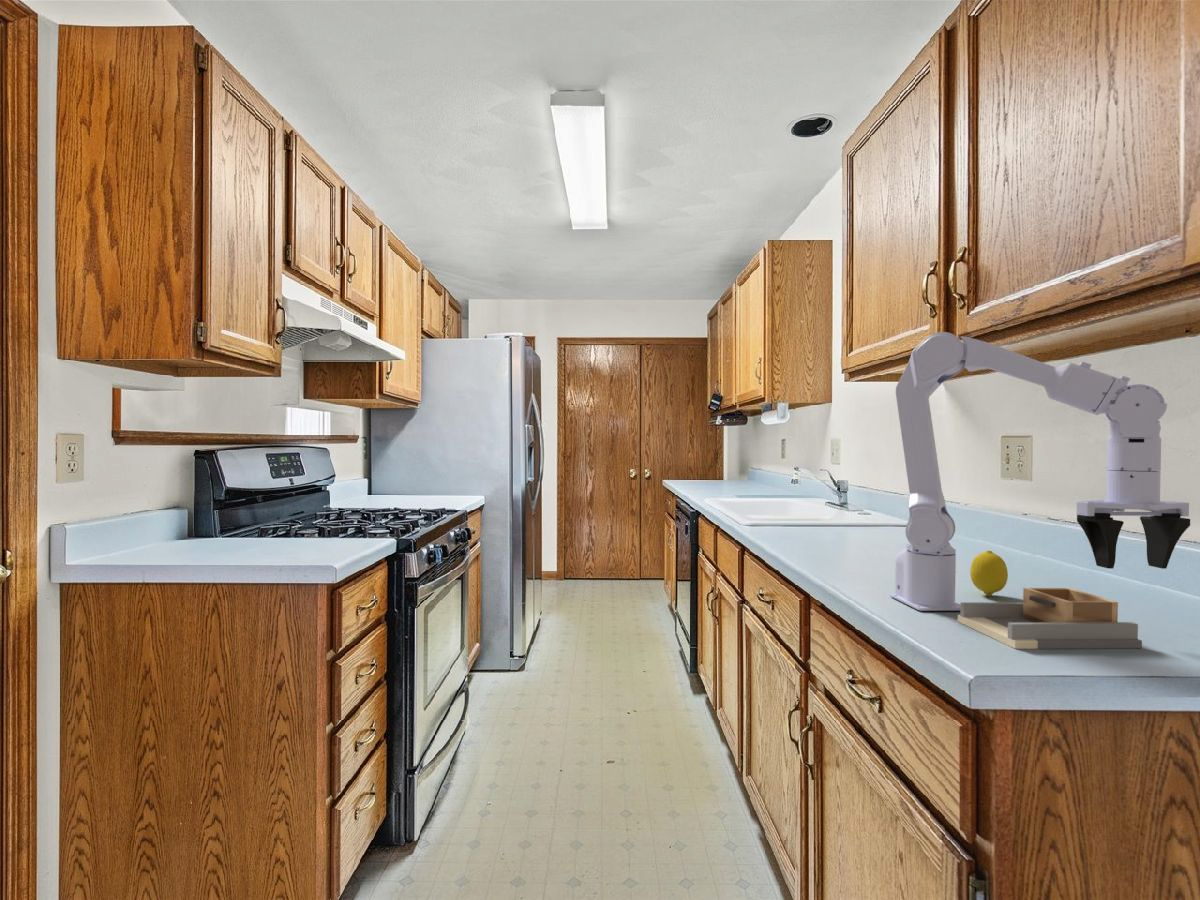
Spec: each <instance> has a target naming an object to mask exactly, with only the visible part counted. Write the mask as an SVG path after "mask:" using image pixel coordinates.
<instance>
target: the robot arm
mask: <svg viewBox="0 0 1200 900" xmlns="http://www.w3.org/2000/svg"><path fill="white" fill-rule="evenodd" d="M960 338H961V339H960ZM961 340H963V341H961ZM1091 366H1092V364H1091V363H1088V362H1085V361H1081V362H1080V363H1079V364H1077V363H1074V362H1068V363H1064V364H1062V365H1059V366H1053V365H1050V364H1047V363H1045V362H1043V361H1039V360H1037V359H1034V358H1031V357H1028V356H1026V355H1023V354H1021V353H1018V352H1015V351H1012V350H1009V349H1007V348H1004V347H1001V346H998V345H996V344H993V343H990V342H987V341H984V340H979V339H977V338H973V337H968V336H960V337H958V336H957V335H955V334H953V333H951V332H947V331H939V332H936V333H932V334H930V335H928V336H927V337H926V338H924V339H923V340H922V341H921V342H920V343H918V345H917V346H916V347H915V348H914V349H913V350H912V351H911V354H910V358H909V361H908V362H907V364H906V366H905V368H904V370H903V372H902V374H901V376H900V379H899V380H898V382H897V385H896V387H895V398H896V405H897V412H898V418H899V419H898V420H899V425H900V426H899V427H900V428H899V429H900V434H901V441H902V447H903V454H904V461H905V469H906V475H907V477H906V478H907V485H908V490H909V491H908V492H909V500H908V513H909V516H908V517H909V518H908V521H907V522H906V526H905V536H906V539H907V541H908V542H909V543H908V544H906V545H905V548H903V549H902V550H900V552H899V553H898V554H897V556H896V559H895V569H894V570H895V574H894V575H895V576H894V577H895V579H894V582H895V583H894V584H895V585H894V587H895V588H894V589H895V590H894V592H893V593H892V592H891V593H890V594H889V597H891V598H893V599H895V600H897V601H899V602H900V603H903V604H905V605H907V606H910V607H912V608H913V609H916V610H917V611H922V612H924V611H925V612H927V611H928V612H929V611H931V612H932V611H933V612H934V611H935V612H937V611H938V612H942V611H943V612H944V611H949V612H952V611H953V612H955V611H957V612H958V611H959V612H960V603H958V602H956V573H957V572H956V571H957V570H956V564H957V563H956V562H957V560H956V559H957V558H956V557H957V555H956V553H957V550H956V549H955V548H954V547H953V546H952V545H951V543H950V542H949V541H951V540H952V538H953V537H954V536H955V533H956V524H955V520H954V519H953V517H952V516H951V515H950V512H949V511H948V509H947V506H946V505H947V504H946V499H945V497H944V493H943V489H942V482H941V481H942V480H941V476H940V470H939V469H940V468H939V461H938V460H939V459H938V453H937V448H936V447H937V446H936V442H935V434H934V426H933V420H932V413H931V405H930V396H932V395H933V394H934V392H935V391H937V389H938V388H940V387H941V385H942V384H943V383H944V382H946V381H948V380H950V379H952V378H953V377H955V376H956V375H958V374H960V373H961V372H962V371H964V369H966V370H967V371H968V372H977V371H982V370H992V371H993V372H998V373H1000V374H1004V375H1007V376H1010V377H1014V378H1017V379H1019V380H1023V381H1026V382H1029V383H1032V384H1036V385H1037V386H1042V387H1043V388H1044V390H1045V393H1046V394H1047V397H1048V398H1049V399H1050V400H1053V401H1056V402H1060V403H1061V404H1065V405H1068V406H1070V407H1072V408H1076V409H1078V410H1081V411H1084V412H1087V413H1089V414H1092V415H1096V416H1099V415H1101V414H1102V415H1103V414H1104V415H1105V417H1106V418H1107V419H1108V421H1109V426H1108V427H1109V428H1108V429H1109V430H1108V431H1109V432H1108V433H1109V434H1108V435H1109V436H1107V439H1106V478H1105V480H1106V481H1105V482H1106V485H1105V488H1106V489H1105V491H1106V492H1105V499H1103V500H1101V499H1100V500H1077V501H1076V521H1077V522H1076V523H1078V525H1079V526H1080V527H1081V530H1083V532H1084V534H1085V536H1086V538H1087V540H1088V543H1089V546H1090V548H1091V551H1092V553H1093V557H1094V560H1095V564H1096V566H1097V567H1100V568H1105V569H1114V568H1115V563H1116V554H1117V543H1118V539H1119V535H1120V532H1121V529H1122V528H1123V525H1124V523H1125V521H1123V520H1117V519H1114V517H1115V516H1116V517H1117V516H1125V517H1127V516H1134V517H1135V516H1137V517H1138V516H1139V519H1140V522H1141V525H1142V527H1143V531H1144V535H1145V541H1146V542H1145V543H1146V560H1147V565H1148V566H1149V567H1154V568H1158V569H1163V570H1164V569H1168V568H1167V567H1168V565H1169V563H1170V559H1171V557H1172V554H1173V552H1174V549H1175V547H1176V545H1177V543H1178V542H1179V540H1180V538H1181V537H1182V535H1183V534H1184V533H1185V532H1186V531H1187V530H1188V529H1189V528H1190V526H1191V519H1190V518H1186V517H1190V502H1184V501H1175V500H1174V501H1167V500H1163V501H1161V471H1162V469H1161V468H1162V467H1161V466H1162V465H1161V464H1162V463H1161V462H1162V461H1161V460H1162V438H1161V436H1160V434H1161V433H1160V432H1161V429H1162V427H1161V424H1160V422H1161V420H1160V419H1161V418H1162V417H1163V416H1164V414H1165V413H1166V412H1167V408H1168V404H1167V403H1166V402H1165V399H1164V397H1163V395H1162V393H1160V392H1159V390H1157V389H1156V388H1154V387H1152V386H1150V385H1146V384H1140V383H1139V384H1129V382H1130V380H1131V378H1130V377H1128V376H1125V375H1121V376H1120V377H1116V376H1113V375H1112V374H1111V375H1110V374H1107V373H1104V372H1100V371H1099V370H1095V369H1092V368H1091ZM1128 384H1129V385H1128ZM1125 510H1134V511H1125ZM1135 510H1136V511H1135ZM1139 510H1140V511H1139ZM1111 516H1114V517H1111Z"/></svg>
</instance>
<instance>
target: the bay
mask: <svg viewBox="0 0 1200 900" xmlns="http://www.w3.org/2000/svg"><path fill="white" fill-rule="evenodd" d="M959 604H960V611H959V612H960V614H957V622H958V623H960V624H962V625H964V626H967V627H969V628H971V629H973V630H975V631H977V632H979V633H981V634H983V635H986V637H987V636H988V637H990V638H992V639H994V640H996V641H998V642H1001V643H1002V644H1004V645H1006V646H1008V647H1011V648H1013V649H1016V650H1017V649H1019V650H1020V649H1021V650H1022V649H1024V650H1027V649H1031V650H1032V649H1034V650H1035V649H1040V650H1041V649H1045V650H1046V649H1049V650H1050V649H1051V650H1052V649H1054V650H1055V649H1056V650H1059V649H1142V648H1143V640H1141V639H1139V624H1138V623H1137V622H1133V621H1132V622H1131V621H1125V622H1123V621H1120V622H1119V621H1118V622H1032V621H1030V620H1027V619H1025V618H1023V601H1022V602H1021V601H1019V602H1017V601H1016V602H1009V601H1008V602H1005V601H1004V602H1003V601H1002V602H997V601H996V602H993V601H991V602H980V601H979V602H978V601H977V602H975V601H974V602H960V603H959Z"/></svg>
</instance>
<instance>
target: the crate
mask: <svg viewBox="0 0 1200 900" xmlns="http://www.w3.org/2000/svg"><path fill="white" fill-rule="evenodd" d="M1022 593H1023V595H1022V599H1023V600H1022V602H1023V618H1025V619H1027V620H1030V621H1032V622H1119V621H1118V618H1119V617H1118V616H1119V615H1118V614H1119V613H1118V611H1119V610H1118V609H1119V608H1118V607H1119V602H1117V601H1115V600H1111V599H1108V598H1104V597H1102V596H1097V595H1095V594H1091V593H1088V592H1084V591H1081V590H1078V589H1074V588H1071V587H1023V591H1022Z"/></svg>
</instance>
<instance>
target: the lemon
mask: <svg viewBox="0 0 1200 900" xmlns="http://www.w3.org/2000/svg"><path fill="white" fill-rule="evenodd" d="M969 571H970V573H969V575H970V580H971V582H972V584H973V585H974V586H975V588H976V589H978V590H979V591H981V592H983V593H984V594H985V596H988V597H992V595H994V593H998V592H1000V591H1002V590H1003V589H1004V588H1005V586H1006V585H1007V583H1008V577H1009V572H1008V568H1007V564H1006V562H1005V561H1004V559H1003V558H1002V557H1001V556H1000V555H999V554H997V553H994V552H993V550H989V549H988V550H986V551H984V552H982V553H979V554H977V555H976V556H975V557H974V558H973V560H972V562H971V565H970V570H969Z"/></svg>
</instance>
